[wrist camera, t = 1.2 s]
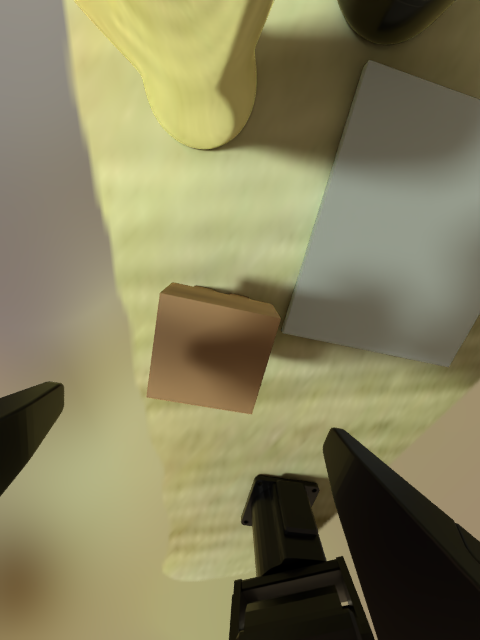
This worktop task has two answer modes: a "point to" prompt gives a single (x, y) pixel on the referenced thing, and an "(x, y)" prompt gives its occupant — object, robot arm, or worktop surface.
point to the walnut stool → (210, 348)
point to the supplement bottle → (391, 17)
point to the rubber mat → (397, 225)
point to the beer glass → (189, 60)
